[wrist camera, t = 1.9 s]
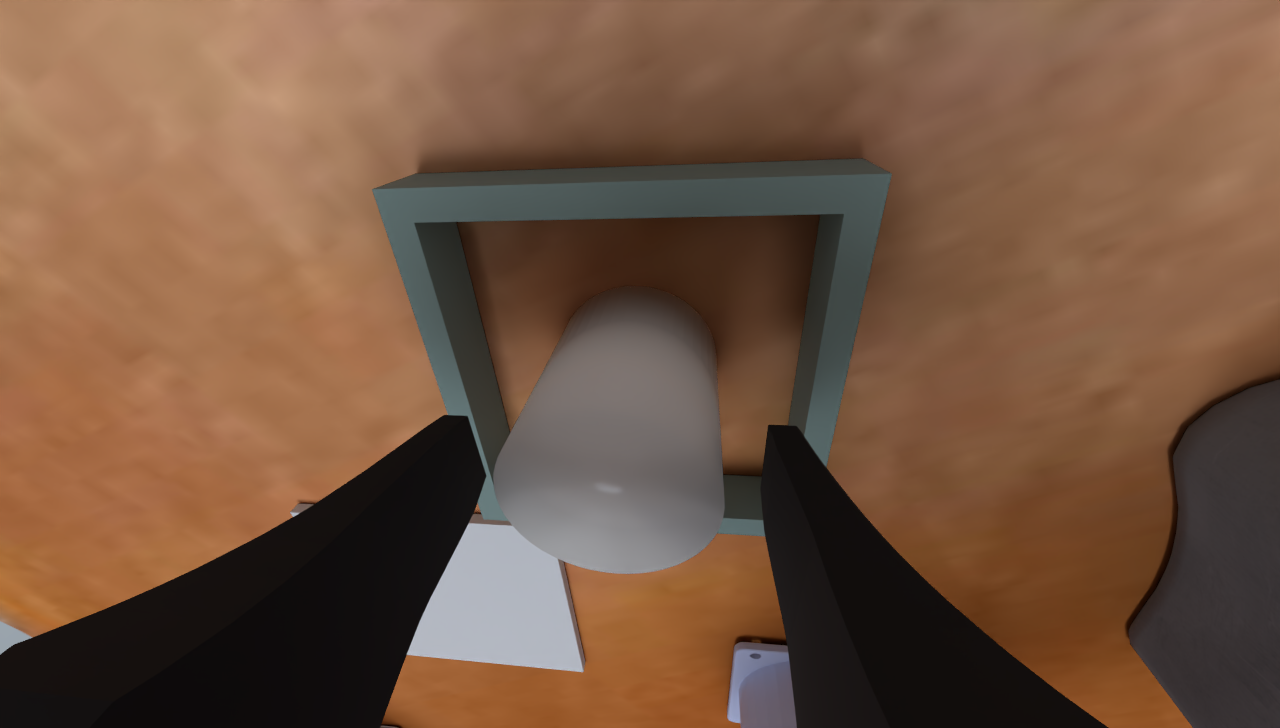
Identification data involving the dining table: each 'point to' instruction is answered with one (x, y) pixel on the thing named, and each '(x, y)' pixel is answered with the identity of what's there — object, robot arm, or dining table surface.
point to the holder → (831, 188)
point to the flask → (1222, 570)
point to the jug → (620, 439)
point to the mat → (499, 603)
